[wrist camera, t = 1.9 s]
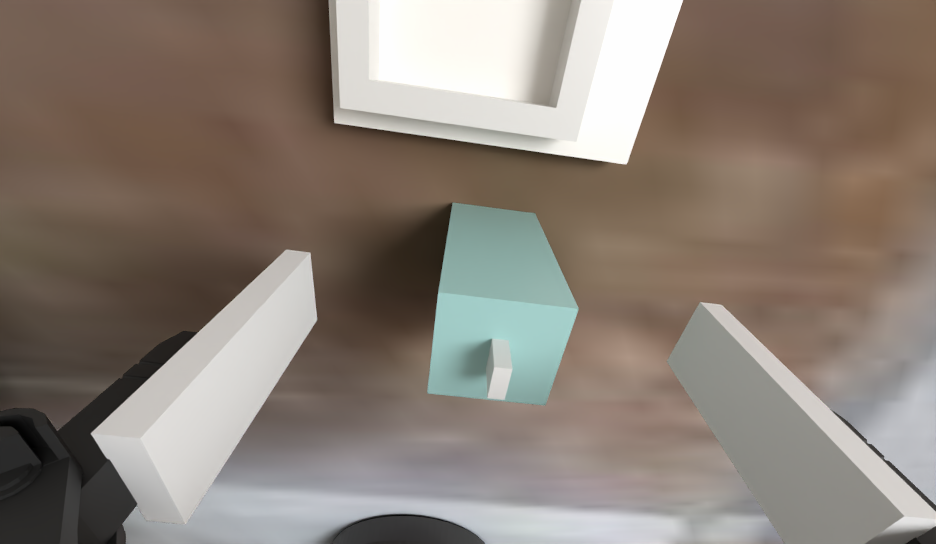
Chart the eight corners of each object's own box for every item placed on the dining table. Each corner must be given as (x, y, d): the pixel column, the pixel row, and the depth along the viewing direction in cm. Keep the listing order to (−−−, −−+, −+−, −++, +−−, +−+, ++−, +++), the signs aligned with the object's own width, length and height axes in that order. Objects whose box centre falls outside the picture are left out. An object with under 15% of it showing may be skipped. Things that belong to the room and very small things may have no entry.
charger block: (518, 284, 19) (552, 437, 11) (444, 275, 19) (422, 424, 11) (535, 213, 17) (590, 335, 9) (452, 202, 17) (434, 317, 9)
